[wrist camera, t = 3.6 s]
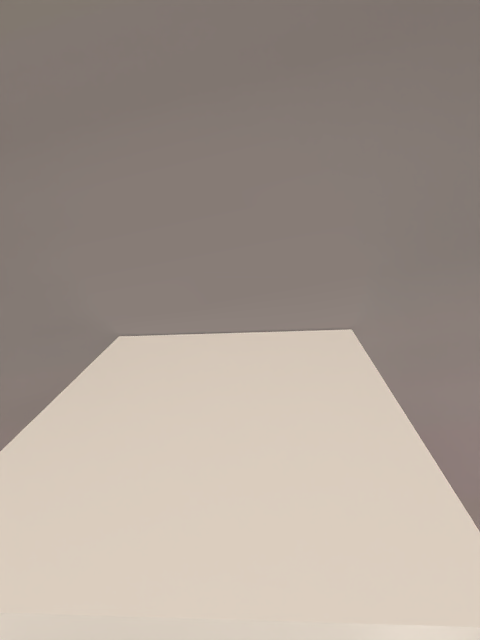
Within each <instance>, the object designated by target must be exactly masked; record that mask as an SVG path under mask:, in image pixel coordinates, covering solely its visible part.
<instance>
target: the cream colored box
mask: <svg viewBox="0 0 480 640" xmlns="http://www.w3.org/2000/svg"><path fill="white" fill-rule="evenodd" d="M0 640H480V532H479V530H478V528H477V527H476V525H475V524H474V522H473V521H472V519H471V517H470V516H469V514H468V513H467V511H466V509H465V508H464V506H463V505H462V503H461V502H460V500H459V498H458V497H457V495H456V494H455V492H454V491H453V489H452V487H451V486H450V484H449V483H448V481H447V480H446V478H445V476H444V475H443V473H442V472H441V470H440V468H439V467H438V465H437V464H436V462H435V461H434V459H433V457H432V456H431V454H430V453H429V451H428V450H427V448H426V446H425V445H424V443H423V442H422V440H421V438H420V437H419V435H418V434H417V432H416V431H415V429H414V427H413V426H412V424H411V423H410V421H409V420H408V418H407V416H406V415H405V413H404V412H403V410H402V408H401V407H400V405H399V404H398V402H397V401H396V399H395V397H394V396H393V394H392V393H391V391H390V390H389V388H388V386H387V385H386V383H385V382H384V380H383V378H382V377H381V375H380V374H379V372H378V371H377V369H376V367H375V366H374V364H373V363H372V361H371V360H370V358H369V356H368V355H367V353H366V352H365V350H364V348H363V347H362V345H361V344H360V342H359V341H358V339H357V337H356V336H355V334H354V333H353V331H352V330H320V331H287V332H253V333H220V334H187V335H153V336H120V337H118V338H117V339H116V340H115V341H114V342H113V343H112V344H111V345H110V346H109V347H108V348H107V349H106V350H105V351H104V352H103V353H102V354H101V355H100V356H98V357H97V358H96V359H95V360H94V361H93V362H92V363H91V364H90V365H89V366H88V367H87V368H86V369H85V370H84V371H83V372H82V373H81V374H80V375H79V376H78V377H77V378H76V379H75V380H74V381H73V382H72V383H71V384H70V385H69V386H68V387H67V388H65V389H64V390H63V391H62V392H61V393H60V394H59V395H58V396H57V397H56V398H55V399H54V400H53V401H52V402H51V403H50V404H49V405H48V406H47V407H46V408H45V409H44V410H43V411H42V412H41V413H40V414H39V415H38V416H37V417H36V418H35V419H34V420H32V421H31V422H30V423H29V424H28V425H27V426H26V427H25V428H24V429H23V430H22V431H21V432H20V433H19V434H18V435H17V436H16V437H15V438H14V439H13V440H12V441H11V442H10V443H9V444H8V445H7V446H6V447H5V448H4V449H3V450H2V451H1V452H0Z"/></svg>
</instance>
